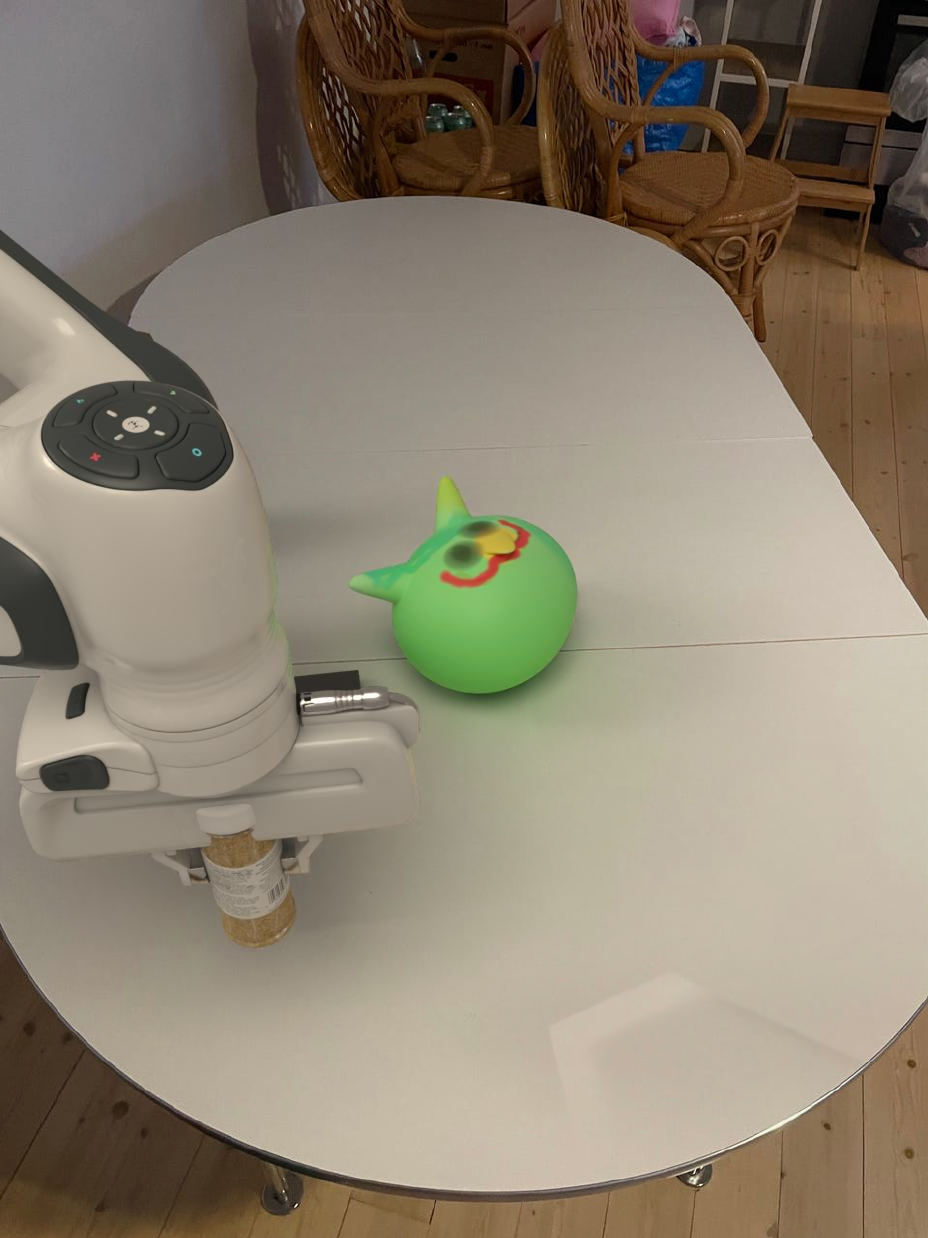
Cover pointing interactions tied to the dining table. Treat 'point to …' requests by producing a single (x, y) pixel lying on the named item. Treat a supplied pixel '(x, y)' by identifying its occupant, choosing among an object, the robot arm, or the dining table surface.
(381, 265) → the dining table surface
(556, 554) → the toy bird
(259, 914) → the sprinkles bottle
